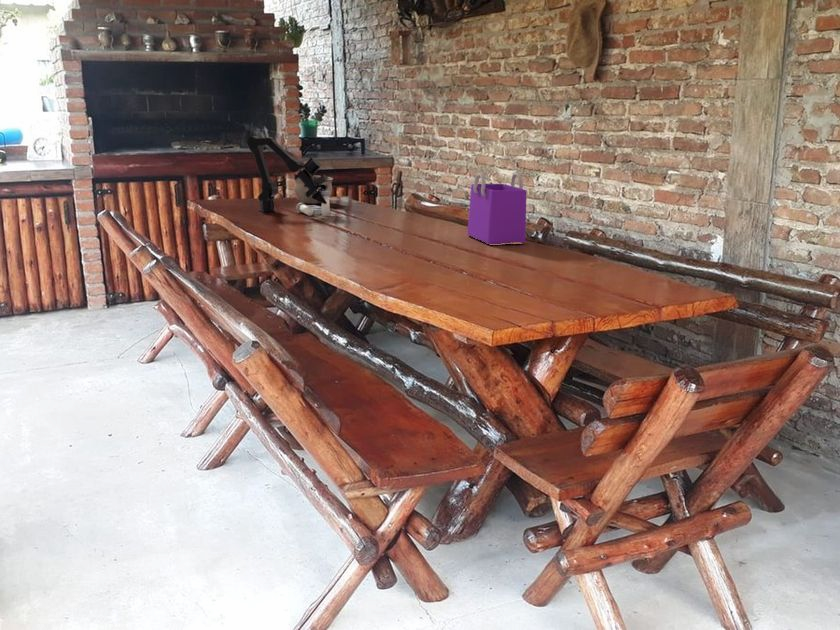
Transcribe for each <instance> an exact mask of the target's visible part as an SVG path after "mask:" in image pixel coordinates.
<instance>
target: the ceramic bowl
mask: <svg viewBox="0 0 840 630" xmlns="http://www.w3.org/2000/svg"><path fill="white" fill-rule="evenodd" d="M312 177H313V178H316V179H317V178H319V177H321V175H316V174H313V176H312ZM327 177H328V178H327V179H328V181H327V182H324V183H321V184H327V185H328V186H329V187H328V188H327V191H331V194H333V185H332V182H333V180H334V178H333V177H330V176H327ZM293 179H294V178H293ZM293 185H294V186H293V192H294V193H295V196H296V198H298V199H299V201H300V202H302V203H304V204H306V205H308V204H310V205H316V204H322V202H319V201H317V200H315V199H313V198H311V197H312V195H311V197H310V198H307V197H306V192H307V191H308V190H309V189H308V188H307V187H304V184H303V182H302V181H301V180H300V179H299V178H298V179H294V184H293ZM330 196H331V195H330ZM330 196H329V198H330Z"/></svg>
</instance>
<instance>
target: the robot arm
mask: <svg viewBox="0 0 840 630" xmlns="http://www.w3.org/2000/svg"><path fill="white" fill-rule="evenodd" d="M246 144H247V146H248V149H249V150H250V152H251V153H252V154H253V156H254V160H255V163H256V166H257V169H258V171H259V172H258V173H259V176H260V179H261V192H260V193H259V195H258V196H257V198H258V200H259V209H258V211H259V212H262V213H272V212H273V213H275V212H276V210H275V202H274V199H275V197H276V196H277V194H278V193H279V192H278V190H279V188H278V185H277V182H276V181H273V180H272V179H271V175H270V172H269V168H268V166H267V165H268V164H267V161H266V159H265V156H264V146H268V147H269V148H270V149H271V150H272V151H273V152H274V153H275V154H276V155H277V156H278V157H279V158H280V159H281V160H282V161H283V162H284V164H285V167H286V168H287V169H288V170H289V171H290V172H292V173H294V175H293V179H298V178H299V179H300V180H301V181H302V182H303V184H304V187H307V188H308V189H309V190H308V191H307V192H306V197H307V198H310V197H311V195H312V197H311V198H313V199H315V200H317V201H319V202H322V203H324V204H326V203H327V202H326V201H325V199H324V198H323V196H322V195H321V191H327V188H328V187H329V186H328V185H327V184H321V183H324V182H327V181H328V179H327V178H328V177H329V176H327V174H326V175H325V174H323V173H322V175H320V176H321V177H319V178H317V179H316V178H313V176H312V175H315V174H316V172H318V171H319V170H320V168H322V164H321V162H320V161H319V160H317V159H316V158H314V157H313V156H311V157H310V158H309V159H308V161H306V162H302V161H301V160H300V159H298V158H297V157H294V156H293V155H291V154H290V153H289V152H288V151H287V150H285V148H284V147H282V145H281V144H280V143H278V141H276V140H275V138H274V137H272V136H269V137H260V136H258V135H257V136H256V135H255V136H249V137H248V138H247V140H246ZM296 172H298V173H296ZM322 203H321V204H322ZM329 204H331V198H329Z"/></svg>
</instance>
